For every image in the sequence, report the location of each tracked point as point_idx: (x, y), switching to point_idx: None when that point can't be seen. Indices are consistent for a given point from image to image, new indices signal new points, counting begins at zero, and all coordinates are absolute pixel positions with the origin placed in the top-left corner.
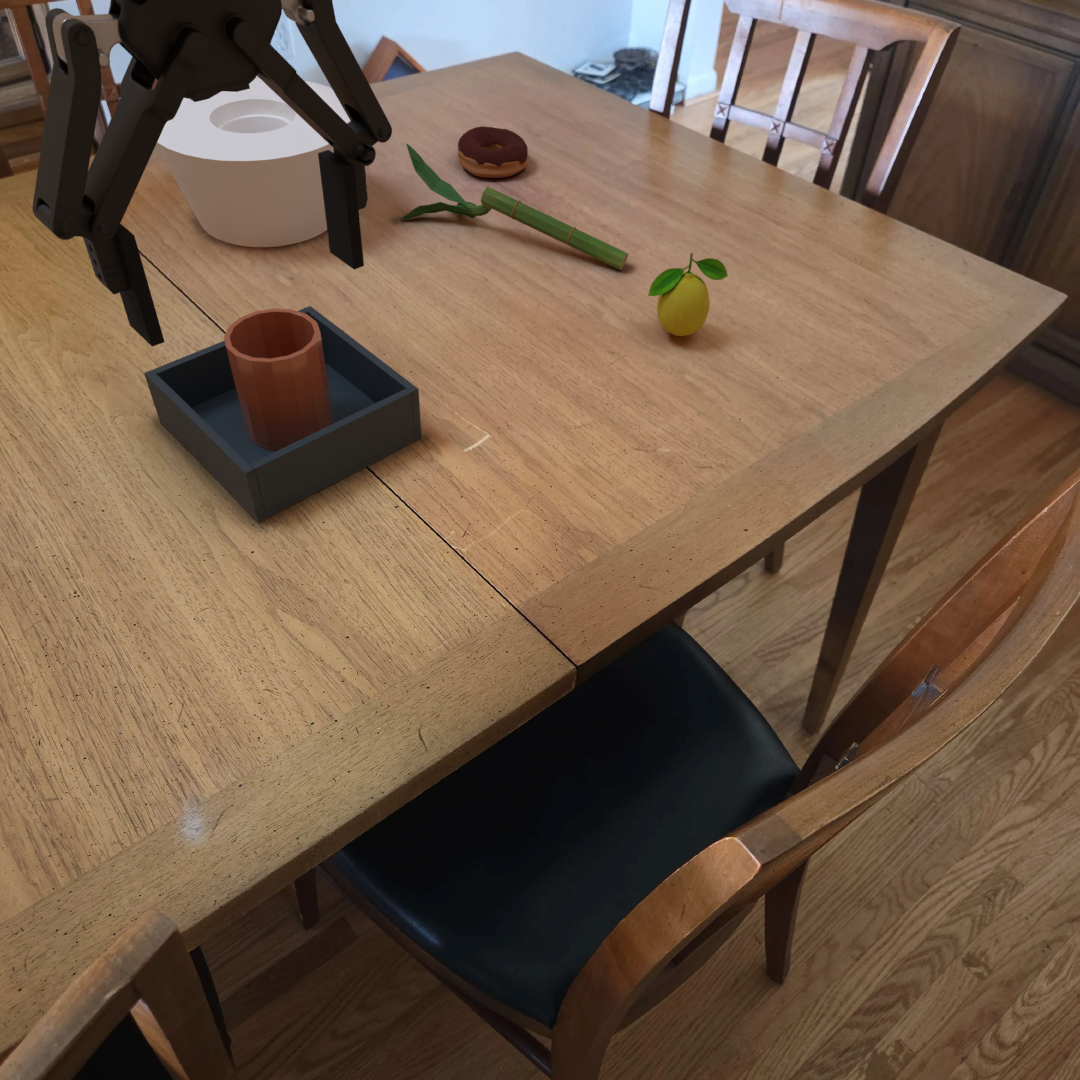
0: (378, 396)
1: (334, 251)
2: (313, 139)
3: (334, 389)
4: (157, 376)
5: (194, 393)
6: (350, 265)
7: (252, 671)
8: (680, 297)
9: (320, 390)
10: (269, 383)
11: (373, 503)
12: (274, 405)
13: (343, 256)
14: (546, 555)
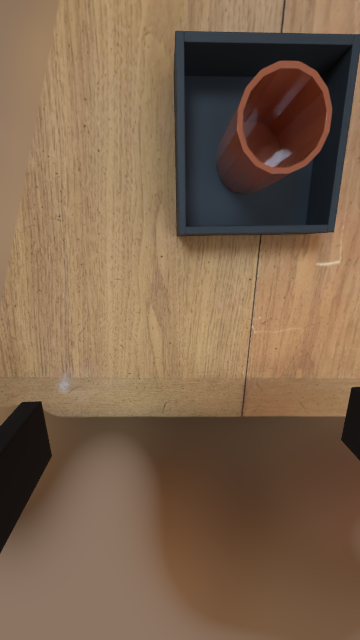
0: (315, 184)
1: (354, 403)
2: None
3: None
4: (182, 48)
5: (209, 68)
6: (344, 435)
7: (120, 332)
8: None
9: (277, 181)
10: (244, 169)
11: (241, 267)
12: (237, 175)
13: (352, 424)
14: (283, 361)
